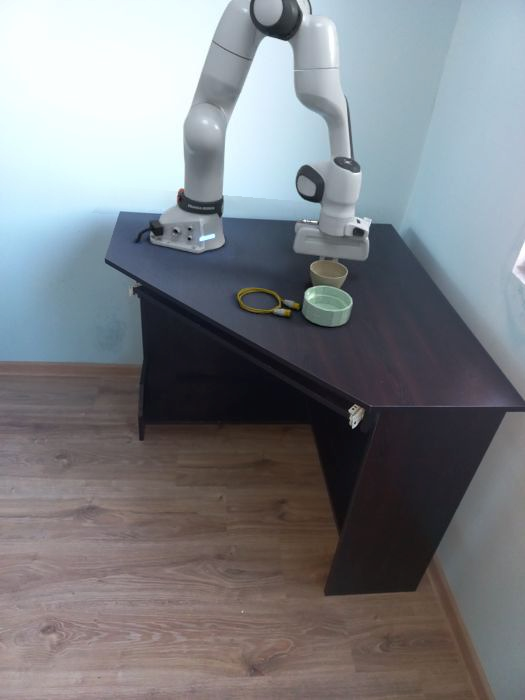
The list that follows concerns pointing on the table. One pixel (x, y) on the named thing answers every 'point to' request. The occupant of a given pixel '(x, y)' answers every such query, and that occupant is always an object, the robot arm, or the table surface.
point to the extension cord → (275, 311)
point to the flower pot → (328, 273)
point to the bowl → (327, 306)
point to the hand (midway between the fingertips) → (326, 269)
